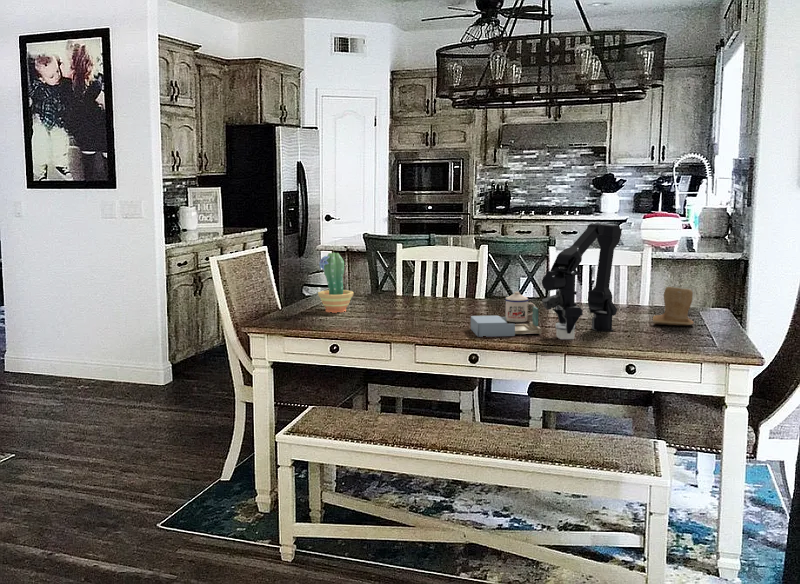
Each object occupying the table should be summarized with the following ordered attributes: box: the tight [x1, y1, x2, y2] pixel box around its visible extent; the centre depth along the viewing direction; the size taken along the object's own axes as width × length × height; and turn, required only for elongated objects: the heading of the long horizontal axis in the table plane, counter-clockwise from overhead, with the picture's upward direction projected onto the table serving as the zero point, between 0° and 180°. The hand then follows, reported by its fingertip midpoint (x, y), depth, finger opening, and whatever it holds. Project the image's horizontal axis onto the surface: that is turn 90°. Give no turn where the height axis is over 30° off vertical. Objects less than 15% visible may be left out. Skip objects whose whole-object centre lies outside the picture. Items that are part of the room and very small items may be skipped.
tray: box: [514, 306, 542, 335], centre depth 290 cm, size 14×13×8 cm
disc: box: [555, 321, 576, 330], centre depth 279 cm, size 7×7×2 cm
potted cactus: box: [317, 252, 354, 314], centre depth 333 cm, size 15×15×25 cm
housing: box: [470, 315, 516, 338], centre depth 289 cm, size 14×14×5 cm
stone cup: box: [652, 286, 695, 326], centre depth 303 cm, size 15×12×15 cm
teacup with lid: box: [504, 291, 536, 323], centre depth 312 cm, size 12×9×12 cm
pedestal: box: [555, 329, 576, 340], centre depth 280 cm, size 5×5×4 cm
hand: (565, 331), depth 279 cm, fingers open, 7 cm apart
